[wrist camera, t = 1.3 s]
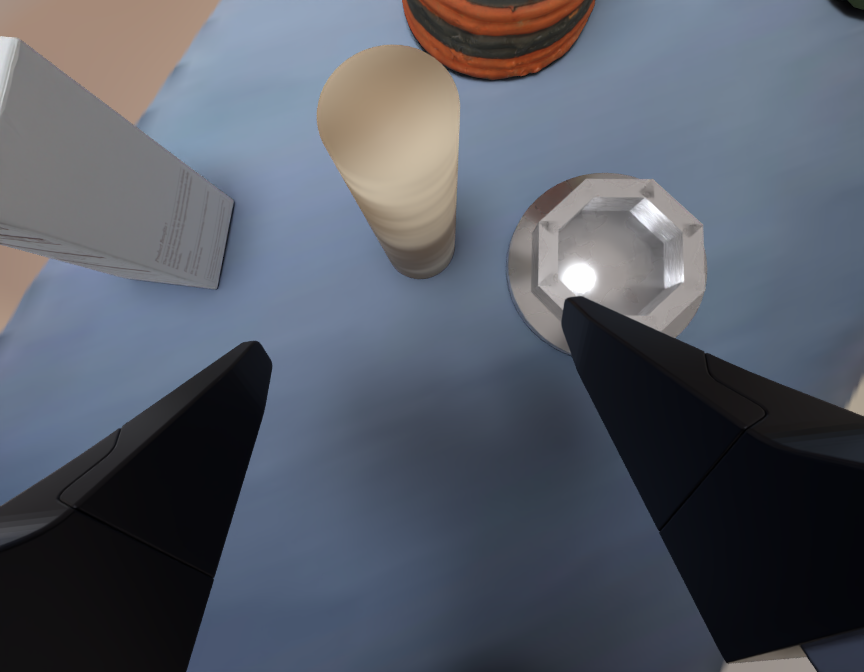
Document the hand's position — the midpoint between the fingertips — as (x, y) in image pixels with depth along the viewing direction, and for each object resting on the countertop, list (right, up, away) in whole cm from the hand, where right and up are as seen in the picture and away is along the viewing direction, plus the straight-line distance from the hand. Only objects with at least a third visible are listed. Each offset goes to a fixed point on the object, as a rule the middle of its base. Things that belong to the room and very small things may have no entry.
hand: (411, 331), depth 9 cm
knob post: (0, +7, +14) cm, 15 cm away
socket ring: (+12, +5, +13) cm, 19 cm away
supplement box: (-19, +7, +15) cm, 25 cm away
